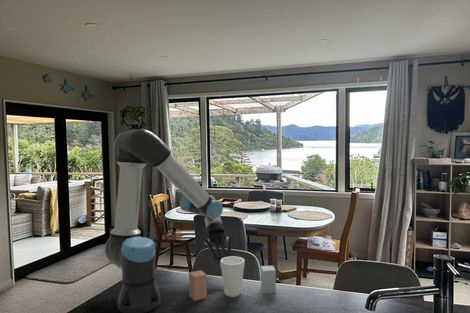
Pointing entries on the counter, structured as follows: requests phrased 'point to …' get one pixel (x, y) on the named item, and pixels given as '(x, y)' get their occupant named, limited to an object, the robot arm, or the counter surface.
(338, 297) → the counter surface
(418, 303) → the counter surface
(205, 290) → the terracotta block
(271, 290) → the slate block
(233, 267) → the foam cup
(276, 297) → the counter surface
